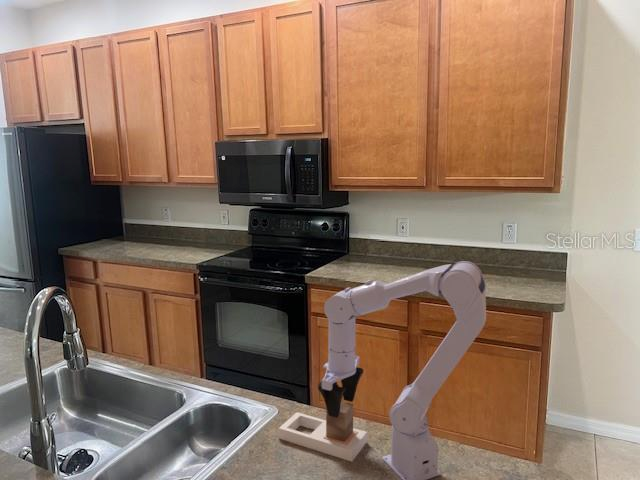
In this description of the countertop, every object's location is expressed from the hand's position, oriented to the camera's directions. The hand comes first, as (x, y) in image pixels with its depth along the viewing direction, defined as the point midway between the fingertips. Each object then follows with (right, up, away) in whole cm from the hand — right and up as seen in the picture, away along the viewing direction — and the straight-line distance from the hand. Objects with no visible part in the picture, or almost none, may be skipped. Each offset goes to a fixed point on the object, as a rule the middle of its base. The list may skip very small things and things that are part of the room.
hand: (341, 407), depth 102 cm
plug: (0, -6, +1) cm, 6 cm away
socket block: (-4, -9, +3) cm, 10 cm away
